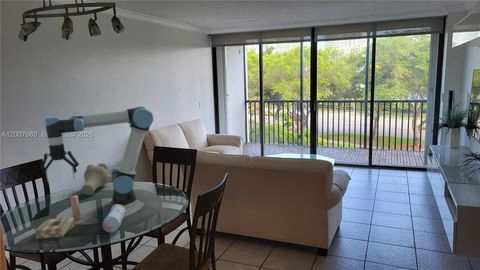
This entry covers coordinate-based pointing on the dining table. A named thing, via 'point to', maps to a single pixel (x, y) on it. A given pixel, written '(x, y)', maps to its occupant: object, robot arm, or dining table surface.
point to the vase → (95, 178)
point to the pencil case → (114, 218)
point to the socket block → (54, 228)
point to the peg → (75, 207)
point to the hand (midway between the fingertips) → (61, 179)
